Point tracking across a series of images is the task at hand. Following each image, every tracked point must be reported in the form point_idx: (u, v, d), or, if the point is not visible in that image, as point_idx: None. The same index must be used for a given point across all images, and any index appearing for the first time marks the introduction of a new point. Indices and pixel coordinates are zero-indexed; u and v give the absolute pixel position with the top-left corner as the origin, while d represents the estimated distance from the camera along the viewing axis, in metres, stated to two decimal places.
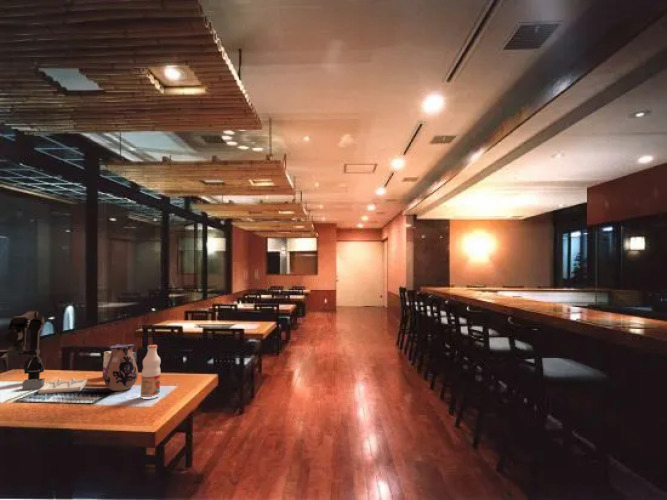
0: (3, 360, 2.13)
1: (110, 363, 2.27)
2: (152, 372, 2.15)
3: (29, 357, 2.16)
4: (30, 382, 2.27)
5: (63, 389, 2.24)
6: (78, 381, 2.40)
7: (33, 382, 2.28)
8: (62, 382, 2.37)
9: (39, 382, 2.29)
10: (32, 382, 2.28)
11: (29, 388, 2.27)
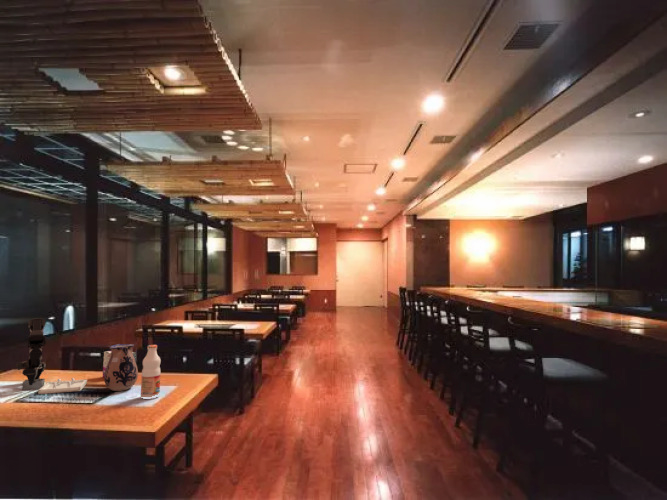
0: None
1: (110, 363, 2.27)
2: (152, 372, 2.15)
3: None
4: None
5: (63, 389, 2.24)
6: (78, 381, 2.40)
7: (33, 382, 2.28)
8: (62, 382, 2.37)
9: (39, 382, 2.29)
10: None
11: (29, 388, 2.27)
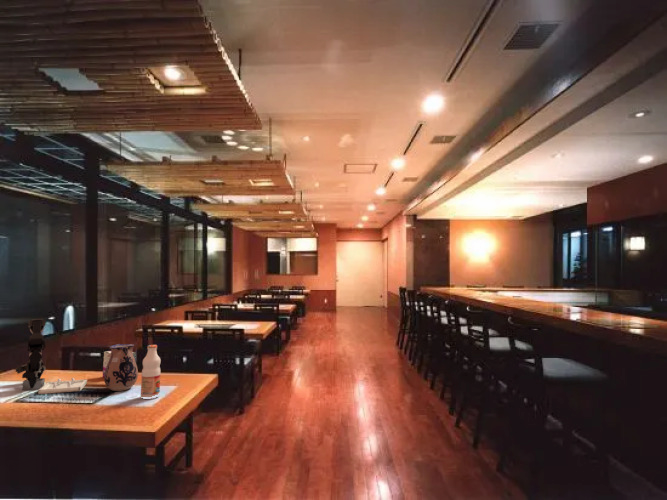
0: None
1: (110, 363, 2.27)
2: (152, 372, 2.15)
3: None
4: None
5: (63, 389, 2.24)
6: (78, 381, 2.40)
7: None
8: (62, 382, 2.37)
9: (39, 382, 2.29)
10: None
11: (29, 388, 2.27)
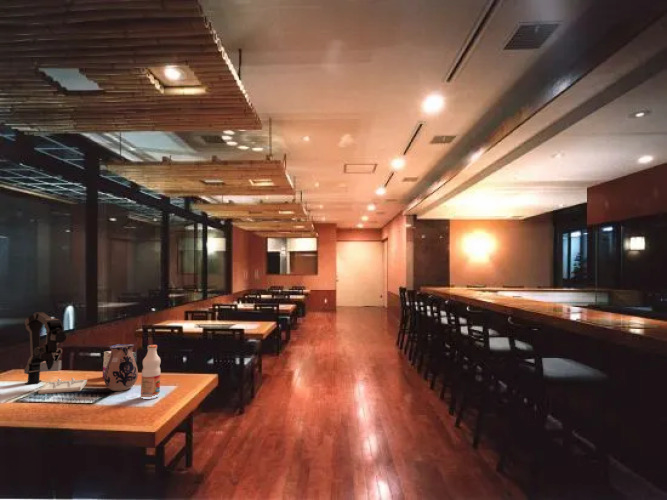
0: None
1: (110, 363, 2.27)
2: (152, 372, 2.15)
3: None
4: None
5: (63, 389, 2.24)
6: (78, 381, 2.40)
7: None
8: (62, 382, 2.37)
9: (56, 363, 2.30)
10: None
11: (46, 369, 2.28)
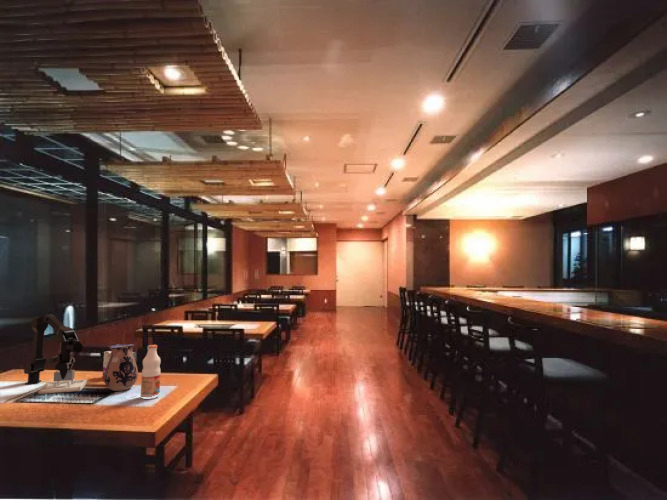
0: None
1: (110, 363, 2.27)
2: (152, 372, 2.15)
3: None
4: None
5: (63, 389, 2.24)
6: (78, 381, 2.40)
7: None
8: (62, 382, 2.37)
9: (70, 373, 2.31)
10: None
11: (60, 379, 2.29)
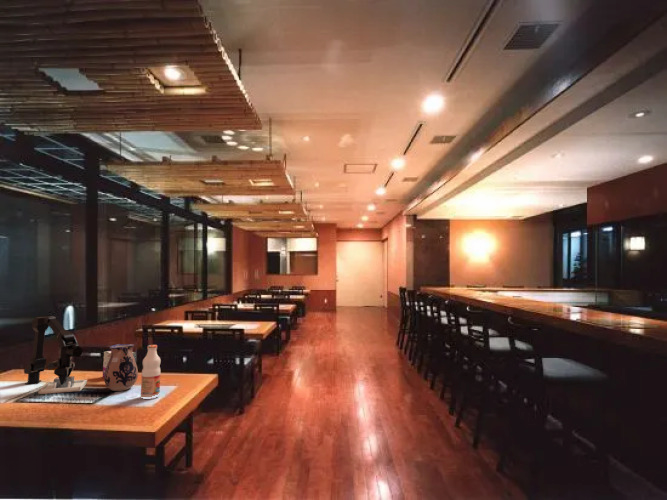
0: None
1: (110, 363, 2.27)
2: (152, 372, 2.15)
3: None
4: None
5: (63, 389, 2.24)
6: (78, 381, 2.40)
7: None
8: None
9: (69, 380, 2.30)
10: None
11: (60, 386, 2.29)
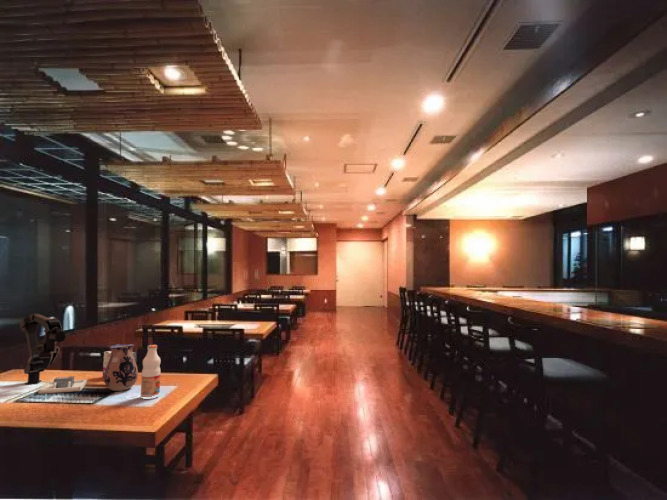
0: None
1: (110, 363, 2.27)
2: (152, 372, 2.15)
3: None
4: (61, 380, 2.29)
5: (63, 389, 2.24)
6: (78, 381, 2.40)
7: (64, 380, 2.29)
8: None
9: (69, 380, 2.30)
10: (63, 380, 2.29)
11: (60, 386, 2.29)
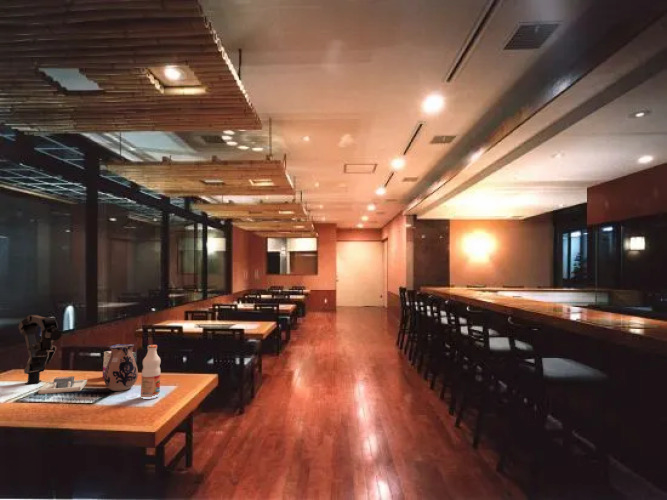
0: None
1: (110, 363, 2.27)
2: (152, 372, 2.15)
3: None
4: (61, 380, 2.29)
5: (63, 389, 2.24)
6: (78, 381, 2.40)
7: (64, 380, 2.29)
8: None
9: (69, 380, 2.30)
10: (63, 380, 2.29)
11: (60, 386, 2.29)
